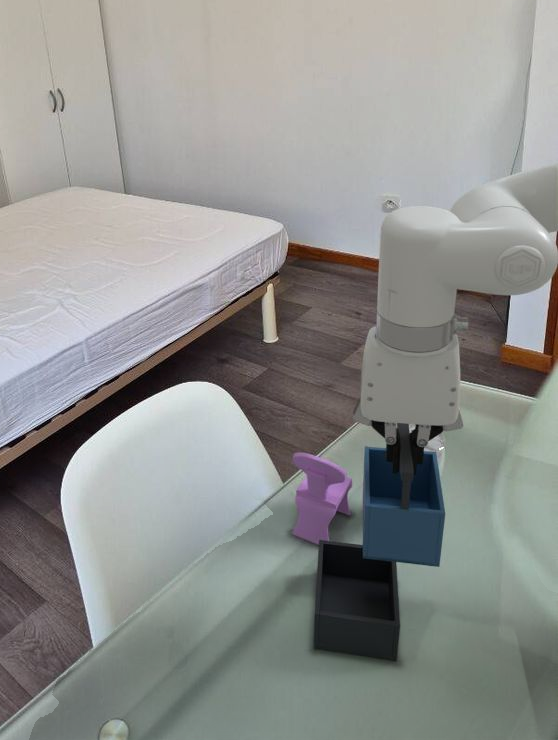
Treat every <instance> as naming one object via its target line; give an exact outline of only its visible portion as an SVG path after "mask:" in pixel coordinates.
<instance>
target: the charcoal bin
mask: <svg viewBox="0 0 558 740" xmlns="http://www.w3.org/2000/svg"><path fill="white" fill-rule="evenodd" d="M315 582H316V583H315V600H314V612H313V613H314V615H313V616H314V617H313V619H314V621H313V650H317V651H322V652H323V651H324V652H330V653H337V654H343V655H349V656H354V657H355V656H357V657H363V658H368V659H369V658H370V659H375V660H381V661H382V660H383V661H389V662H395V663H397V662H398V652H399V643H400V633H401V617H400V616H401V615H400V601H399V600H400V598H399V597H400V596H399V585H398V584H399V583H398V582H399V581H398V566H397V562H392V561H384V560H375V559H367V558H363V544H359V543H350V542H341V541H333V540H329V541H326V540H324V541H323V540H319V545H318V553H317V567H316V581H315Z"/></svg>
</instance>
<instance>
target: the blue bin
mask: <svg viewBox="0 0 558 740" xmlns="http://www.w3.org/2000/svg"><path fill="white" fill-rule="evenodd" d="M409 425H410V424H405V423H396V428H397V429H398V432H400V444H401V450H400V465H399V472H397V473H392V462H386V447H376V446H367V445H366V446H364V457H363V475H362V476H363V479H362V545H363V558H367V559H375V560H384V561H392V562H396V563H403V564H411V565H418V566H426V567H435V568H436V567H437V568H440V564H441V557H442V556H441V555H442V548H443V539H444V530H445V522H446V521H445V519H446V509H445V501H444V495H443V488H442V480H441V481H440V474H439V467H438V460H437V454H436V452H429V451H424V455H423V465H421V464H417V471H416V475H414V472H413V462H412V452H411V443H410V432H409Z"/></svg>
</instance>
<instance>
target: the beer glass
mask: <svg viewBox="0 0 558 740" xmlns="http://www.w3.org/2000/svg"><path fill="white" fill-rule="evenodd" d="M414 429H415V424H409V432H410V433H412V430H414ZM446 446H447V438H446V435H444V433H443V432H442V433H441V434H439V435H438V436H436V437H434V438H433V439H431V440H430V441H428V445H427V446H425V447H424V451H429V452H436V454H437V460H438V467H439V474H440V481H441V482H442V479H443V476H444V473H445V466H446V458H447V457H446V456H447V455H446V454H447V451H446V450H447V447H446Z"/></svg>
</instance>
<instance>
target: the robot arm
mask: <svg viewBox="0 0 558 740" xmlns="http://www.w3.org/2000/svg"><path fill="white" fill-rule="evenodd" d="M555 232H558V163H557V162H556V163H553V164H546V165H542V166H538V167H533V168H530V169H527V170H526V169H525V170H523V171H520V172H517V173H513V174H509V175H507V176H504V177H501V178H497V179H494V180H491V181H489V182H485V183H483V184H481V185H478V186H476V187H474V188H472V189H470V190H468V191H467V192H465V193H464V194H462V195H461V196H460V197H459V198H458V199H457V200H456V201H455V202H454V203H453V204H452V206H451V208H450V209H449V210H448V209H445V208H440V207H437V206H430V205H411V206H405V207H400V208H397V209H394V210H393V211H390V212H389V213H388V214H386V216H385V217H384V218H383V221H382V223H381V226H380V234H379V253H378V254H379V255H378V275H377V276H378V277H377V279H378V280H377V295H376V296H377V299H376V300H377V301H376V317H375V318H376V319H375V321H376V322H375V326H372V327H371V328H370V329H369V330H368V333H367V336H366V339H365V344H364V348H363V355H362V362H361V372H360V385H359V395H360V396H359V398H358V400H357V402H356V404H355V407H354V408H353V411H352V420H353V421H354V422H356V423H358V424H362V425H365V426H367V427H371V428H372V429H373V430H374V431H375V432H376V433H378V435H380V436H381V437H382V438H383V439H384V441H385V443H386V444H385V448H386V462H392V473H397V472H399V465H400V450H401V444H400V432H398V429H397V423H405V424H409V425H413V424H415V429H414V430H412V433H410V443H411V452H412V462H413V472H414V475H416V471H417V464H421V465H423V455H424V447H425V446H427V445H428V441H430V440H431V439H433V438H434V437H436V436H438V435H439V434H441V433H443V432H451V431H457V430H461V429H463V428H464V421H463V417H462V414H461V411H460V399H461V357H460V344H459V338H458V335H457V333H460V332H461V331H466V332H467V331H469V327H470V325H469V324H470V321H469V317H461V315H457V313H456V312H455V309H456V300H457V290H463V291H469V292H476V293H482V294H487V295H496V296H497V295H498V296H520V295H524V294H529V293H532V292H534V291H536V290H539V289H540V288H542V287H543V286H544V285H546V284H547V283H548V282H549V281H550V280H551V279H552V278H553V277H554V275H555V273H556V272H557V269H558V246H557V244H556V242H555V239H554V237H552V234H550V233H555Z"/></svg>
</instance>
